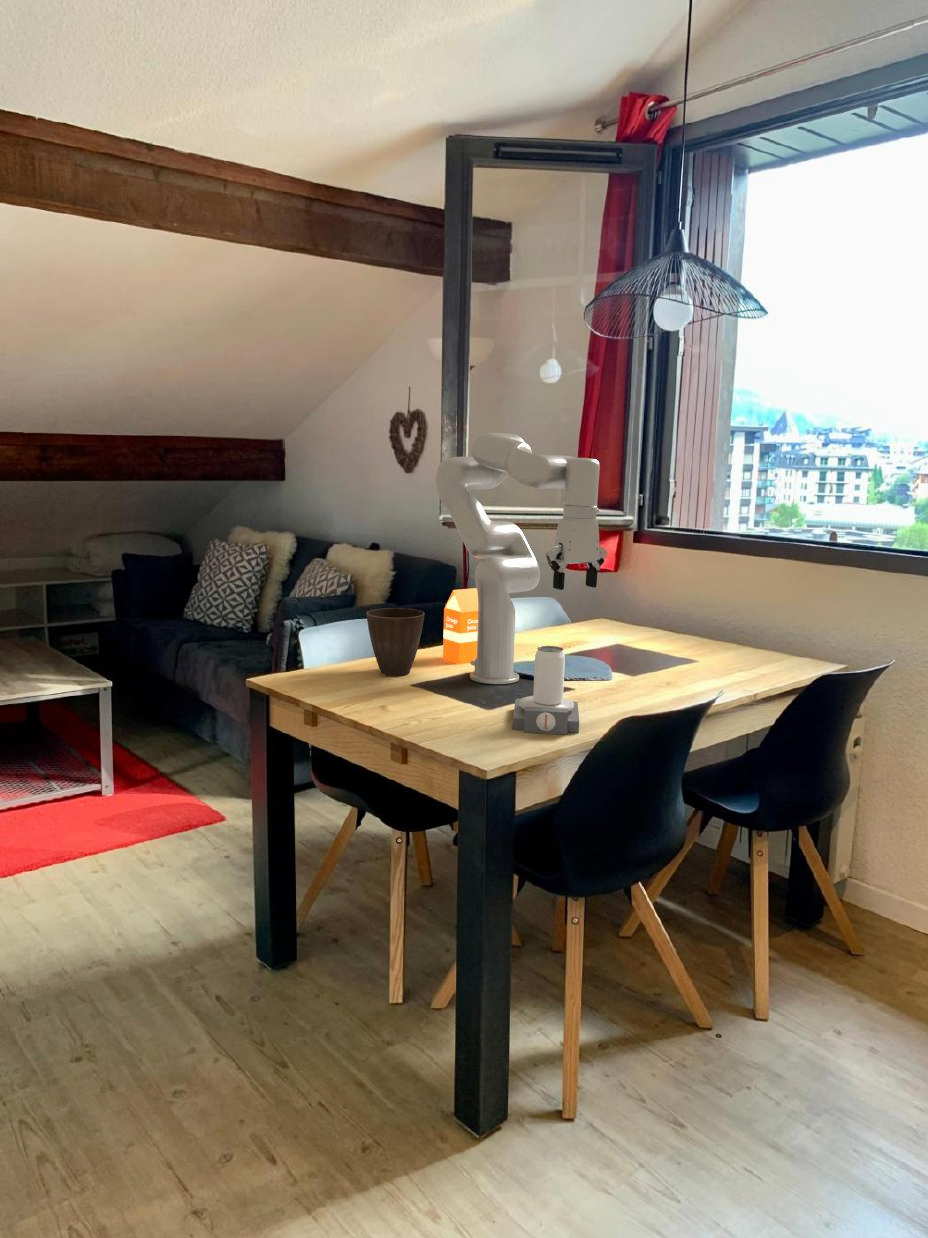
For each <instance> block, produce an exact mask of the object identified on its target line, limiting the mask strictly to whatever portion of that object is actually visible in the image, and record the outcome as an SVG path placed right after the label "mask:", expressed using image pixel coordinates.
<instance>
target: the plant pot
mask: <svg viewBox="0 0 928 1238" xmlns="http://www.w3.org/2000/svg"><path fill="white" fill-rule="evenodd" d="M365 614H366V620H367V627H368V633H369V637H370V642H371V647H372V650H373V654H374V657H375V660H376V663H377V665H378V669H379V670H380V674H382V675H383V676H388V677H400V676H401V677H403V676H407V675H409V674H410V672H411V670H412V667H413V664H414V661H415V659H416V657H417V656H416V655H417V653H418V649H419V645H420V641H421V637H422V636H421V635H422V631H423V625H424V620H425V612H424V611H422V610H419V609H413V608H401V607H395V608H394V607H393V608H391V607H390V608H389V607H387V608H377V609H371V610H368V611H366V613H365Z"/></svg>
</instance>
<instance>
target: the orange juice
mask: <svg viewBox="0 0 928 1238" xmlns="http://www.w3.org/2000/svg"><path fill="white" fill-rule="evenodd" d="M477 629H478V595H477V587H474V588H462V589H453V590H452V592H451V594H450V596H449V598H448V600H447V602H446V603H445V607H444V609H443V636H442V637H443V639H442V640H443V642H442V644H443V646H442V649H443V650H442V659H443V660H444V659H445V660H444V661H447V660H448V661H447V662H450V661H451V662H450V663H454V664H456V665H464V664H470V662H471V660H475V658H476V657H477Z"/></svg>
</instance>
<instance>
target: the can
mask: <svg viewBox="0 0 928 1238" xmlns="http://www.w3.org/2000/svg"><path fill="white" fill-rule="evenodd" d="M534 656H535V657H534V672H533V673H534V674H533V675H534V676H533V695H532V696H533V700H534V701H535V703H537V704H540V705H546V706H555V705H559V704H561V703H562V702H563V698H564V686H565V669H566V668H565V665H566V664H565V662H566V655H565V653H564V648H562V647H560V646H557V645H556V646H555V645H554V646H553V645H543V646H542V645H541V646H538V647H537V651H536V653H535V655H534Z"/></svg>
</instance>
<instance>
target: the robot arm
mask: <svg viewBox="0 0 928 1238" xmlns="http://www.w3.org/2000/svg"><path fill="white" fill-rule="evenodd" d="M470 445H471V446H470V454H471V456H454V457H449V458H446V459H445V460H443V461H442V462H440V464H439V465H438V467H437V469H436V473H435V487H436V492H437V495H438V497H439V500H440V502H441V503H442V505H443V507H444V508H445V510H446V511H447V512H448V514H449V515H450V517H451V519H452V521H453V523H454V525H455V527H456V530H457V533H458V534H459V537H460V538H461V540H462V542H463V544H464V546H465V549H466V550H467V552H468V553H469V554H470V556H472V557H473V558H476V559H482V560H481V561H479V563H478V564H477V566H476V567H475V568H476V569H475V572H474V579H475V580H474V581H475V586H476V587H475V588H477V595H478V629H477V657H476V658H475V660H471V662H470V663H469V664H470V665H471V666H474V670H473V671H471V672H470V673H469V679H470V680H472V681H473V682H476V683H481V684H488V685H508V684H513V683H516V682H518V681H519V680H520V675H519V673H517V672H515V671H514V664H515V663H514V661H515V660H514V659H515V658H514V657H515V635H516V633H515V631H516V608H515V606H514V602H513V601H512V599H511V596H510V594H514V593H522V592H523V593H524V592H530V591H532V590H533V589H536V587H537V586H538V585H539V582H540V579H541V570H540V566H539V562H538V561H537V559H536V556H535V555H534V552H533V551H532V549H531V547H530V545H529V542H528V541H527V539H526V536H525V535H524V533H523V531H522V530H521V529H520V526H518V525H516V524H515V523H513V522H512V521H508V520H492V519H490V518H489V516H488V515H487V513H486V510H485V509H484V506H483V505H482V503H481V502H480V501H479V500H478V499H477V498H476V497H475V496H473V494H471V493H470V492H469V490H471V491H472V490H473V491H474V490H477V491H478V490H480V491H481V490H484V491H485V490H486V491H487V490H491V489H494V488H496V487H498V486H499V485H501V483H503V482H504V481H505V480H506V479H507V478H508V477H509V478H510V479H511V480H512V481H513V482H516V483H518V484H521V485H523V486H524V485H525V486H527V487H530V488H533V489H534V488H535V489H564V491H563V492H564V495H563V511H562V512H563V513H562V518H559V522H558V523H557V529H556V533H555V538H554V546H553V547H552V548H551V549H550V550H548V551H546V553H545V557H546V560H547V564H548V566H549V567H550V568H551V571H552V572H553V578H552V579H553V580H552V588H553V589H556V590H559V591H563V590H565V577H566V576H565V575H566V573H565V572H564V570H565V569H566V567H567V566H568V564H569V565H572V564H573V565H574V564H586V566H587V567H588V568H586V574H585V586H586V587H589V588H590V587H591V588H597V585H598V572H599V571H600V570H601V566H602V565H603V564H604V562H605V558H606V556H607V554H608V550H607V549H605V548H604V547H602V546H601V545H600V530H599V529H600V528H599V521H598V519H597V515H598V514H599V513H600V509H599V508H598V499H599V496H598V495H599V484H600V483H599V480H600V470H601V468H600V466H601V465H600V462H599V461H598V460H597V459H596V458H587V457H575V456H571V455H558V454H556V455H555V454H554V455H553V454H536V453H533V451H532V449H531V447H530V445H529V444H527V442H525V441H524V439H523V438H522V437H521V436H519V435H517V434H515V433H506V432H505V433H504V432H485V433H481V434H479V435H478V436H476V437H475V438H474V439H473V441H472V442H471V444H470Z"/></svg>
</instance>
